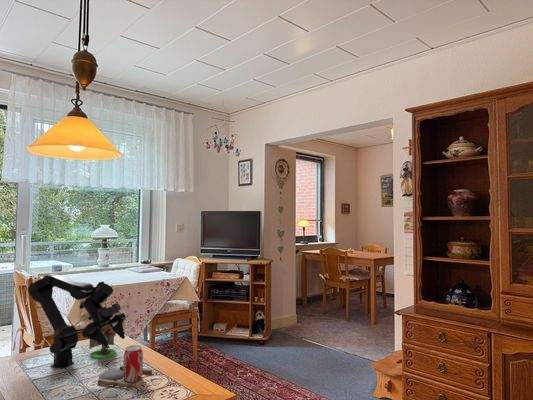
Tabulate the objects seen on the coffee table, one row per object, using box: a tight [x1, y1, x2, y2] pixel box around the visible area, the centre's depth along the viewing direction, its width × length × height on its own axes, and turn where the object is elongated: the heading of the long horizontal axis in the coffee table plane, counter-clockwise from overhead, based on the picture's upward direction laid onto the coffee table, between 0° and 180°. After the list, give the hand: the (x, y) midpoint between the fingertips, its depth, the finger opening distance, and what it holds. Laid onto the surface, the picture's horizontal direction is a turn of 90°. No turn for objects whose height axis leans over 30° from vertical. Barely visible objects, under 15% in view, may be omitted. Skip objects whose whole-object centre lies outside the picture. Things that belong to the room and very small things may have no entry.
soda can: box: [122, 345, 144, 383], centre depth 146 cm, size 7×7×12 cm
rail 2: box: [119, 365, 153, 375], centre depth 153 cm, size 14×1×2 cm, turn 76°
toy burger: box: [88, 318, 117, 360], centre depth 172 cm, size 12×13×15 cm
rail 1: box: [97, 378, 134, 389], centre depth 140 cm, size 14×1×2 cm, turn 76°
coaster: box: [98, 368, 123, 381], centre depth 149 cm, size 10×10×1 cm
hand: (115, 341), depth 149 cm, fingers open, 9 cm apart
